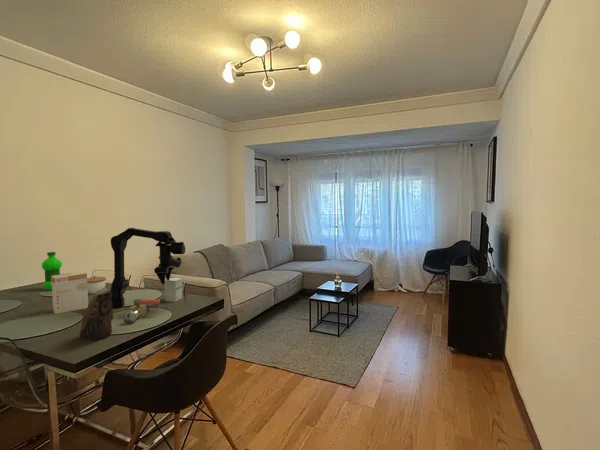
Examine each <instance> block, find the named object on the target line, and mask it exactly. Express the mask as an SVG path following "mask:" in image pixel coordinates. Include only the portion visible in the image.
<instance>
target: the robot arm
mask: <svg viewBox="0 0 600 450" xmlns="http://www.w3.org/2000/svg"><path fill="white" fill-rule="evenodd" d="M132 237H141V238H146V239H152V240H153V241H156V242H157V243H156V244H155V247H158V248H159V256H158V260H159V264H158V266H156V267H155V268H154V272H153V273H154V274H156V276H157V277H158V279H159V281H160V283H161V285H165V280H169V279H170V278H171V275H172V271H173V270H174V269H175V268H180V267H181V265H182V263H183V261H182V258H181V257H177V258H175V257H173V255H185V253H186V246H185V243H184V241H176V240H175V239H174V237H173V235H172V233H171V231H168V230H160V231H157V230H156V231H154V230H147V229H141V228H136V227H128V228H127V229H125V230H124V231H122V232H121V233H118V234H117V235H114V236H112V237H111V238H110V246H111V248H112V250H113V256H114V257H113V259H114V261H113V262H114V267H113V269H114V271H113V273H114V275H113V276H114V278H113V280H112V282H111V286H110V291H111V293H112V296H111V302H112V303H113V306H112V308H113V309H120V308H122V307H124V305H125V304H126V303H125V297H124V294H125V293H126V291H127V290H128V287H129V286H130V285H129V279H127V278H126V277H125V250H126V248H127V245H128V242H129V240H130V239H132Z"/></svg>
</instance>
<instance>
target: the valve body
mask: <svg viewBox="0 0 600 450" xmlns="http://www.w3.org/2000/svg"><path fill="white" fill-rule="evenodd" d="M143 300H148V299H146V298H144V299H143ZM151 306H152V304H141V305H137V306H135V305H134V304H133V305H132V306H130V307H129V308H128V311H126V312H125V313H124V314H123V315H122V320H123V322H124V323H125V324H127V325H129V324H132V323H134V322H135V321H136V320H137V319H142V318H144V317H145V316H146V315H147V310H149V309H150V308H151ZM145 314H146V315H145ZM144 315H145V316H144Z"/></svg>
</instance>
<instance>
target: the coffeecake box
mask: <svg viewBox="0 0 600 450" xmlns="http://www.w3.org/2000/svg"><path fill="white" fill-rule="evenodd" d="M87 278H88V273H87V272H86V271H77V272H69V273H62V274H61V273H60V275H52V276H51V279H52V291H51V292H52V293H51V294H52V295H51V296H52V312H53V313H54V315H57V314H63V313H64V314H65V313H68V312H74V311H79V310H80V311H81V310H84V309H87V307H88V305H89V294H88V286H87Z"/></svg>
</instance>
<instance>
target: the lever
mask: <svg viewBox="0 0 600 450" xmlns="http://www.w3.org/2000/svg"><path fill="white" fill-rule="evenodd" d="M160 303H161V300H160V299H147V300H144V299H139V298H136V299H133V305H135V306H137V305H141V304H151V305H159V304H160Z"/></svg>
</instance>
